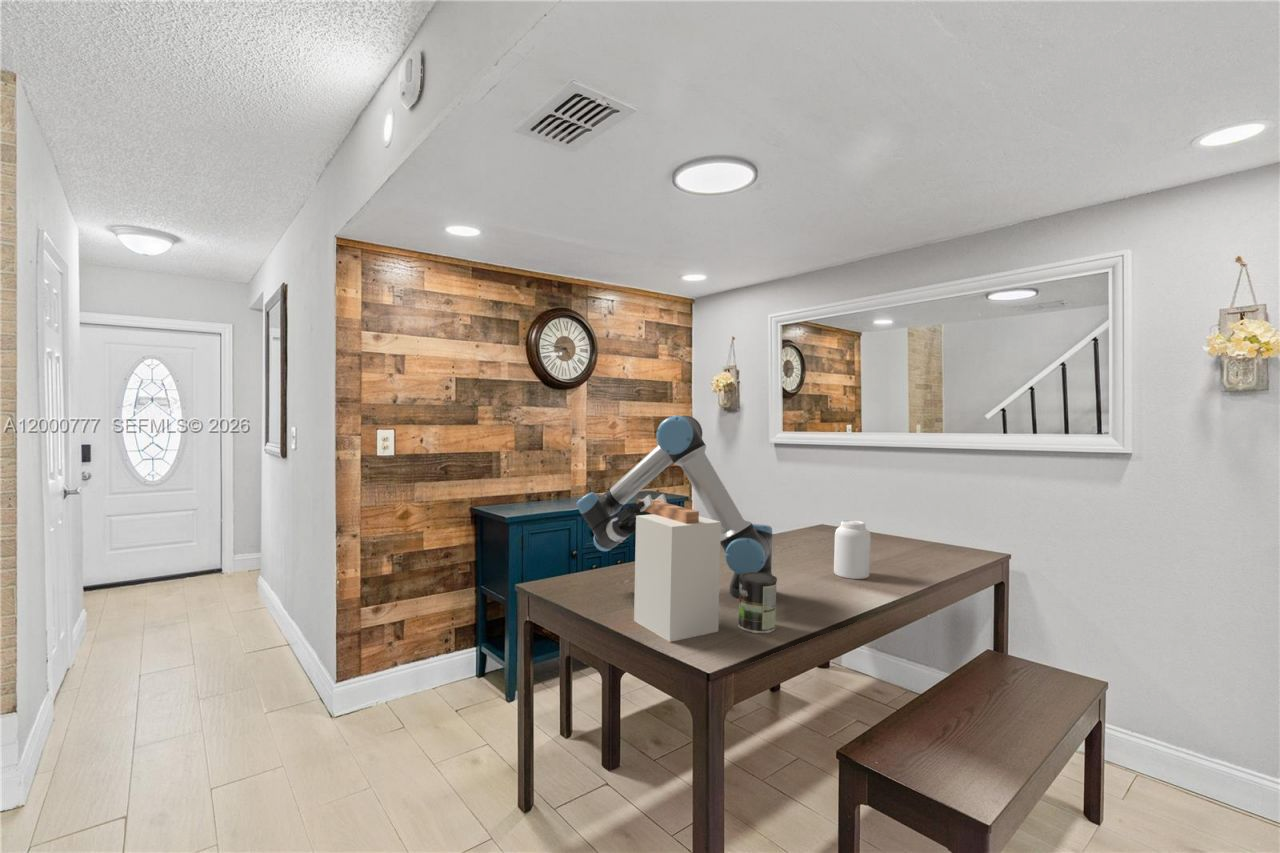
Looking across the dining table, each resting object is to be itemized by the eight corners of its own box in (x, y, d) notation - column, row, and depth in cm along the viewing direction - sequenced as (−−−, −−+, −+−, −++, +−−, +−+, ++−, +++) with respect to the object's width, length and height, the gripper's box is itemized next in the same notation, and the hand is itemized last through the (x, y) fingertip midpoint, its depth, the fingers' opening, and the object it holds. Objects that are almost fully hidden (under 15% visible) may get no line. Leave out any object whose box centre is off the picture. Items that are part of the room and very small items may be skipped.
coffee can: (743, 634, 167) (744, 582, 167) (734, 620, 178) (735, 572, 177) (780, 633, 168) (782, 582, 168) (769, 620, 178) (770, 571, 178)
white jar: (874, 580, 223) (876, 525, 223) (839, 579, 223) (841, 524, 223) (862, 571, 236) (864, 518, 235) (829, 570, 236) (831, 518, 235)
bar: (636, 508, 186) (636, 499, 186) (647, 508, 188) (647, 498, 188) (686, 523, 164) (686, 512, 164) (698, 522, 166) (698, 511, 166)
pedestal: (634, 620, 176) (636, 515, 175) (680, 612, 184) (682, 511, 183) (669, 642, 160) (672, 526, 159) (718, 631, 169) (720, 521, 168)
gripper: (648, 535, 200) (685, 508, 183) (601, 540, 192) (635, 512, 174) (642, 513, 203) (678, 485, 186) (595, 517, 195) (629, 488, 177)
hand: (657, 498), depth 180 cm, fingers closed on bar, 4 cm apart
